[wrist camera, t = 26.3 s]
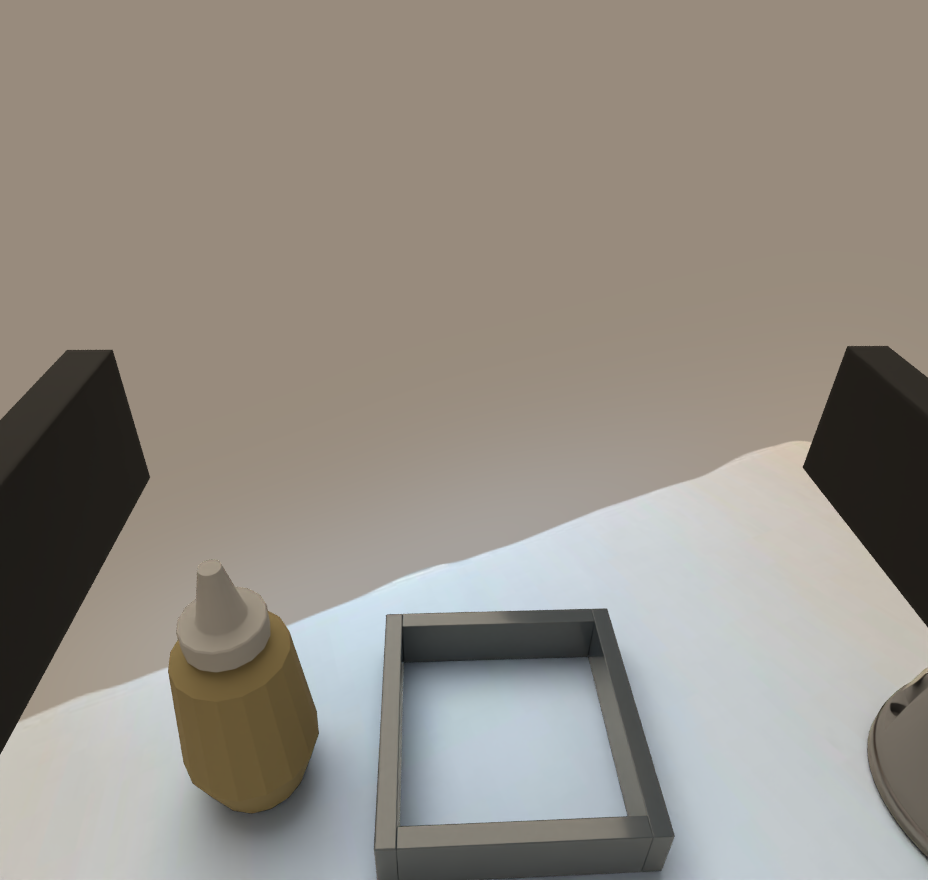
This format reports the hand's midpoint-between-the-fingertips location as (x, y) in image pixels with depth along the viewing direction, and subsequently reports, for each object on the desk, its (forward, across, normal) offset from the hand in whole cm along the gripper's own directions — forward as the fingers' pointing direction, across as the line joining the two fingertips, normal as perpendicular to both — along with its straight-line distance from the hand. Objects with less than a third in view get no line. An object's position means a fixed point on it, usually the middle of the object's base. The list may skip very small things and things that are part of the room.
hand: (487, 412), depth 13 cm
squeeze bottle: (+15, -12, -36) cm, 41 cm away
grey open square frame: (+16, +4, -36) cm, 39 cm away
